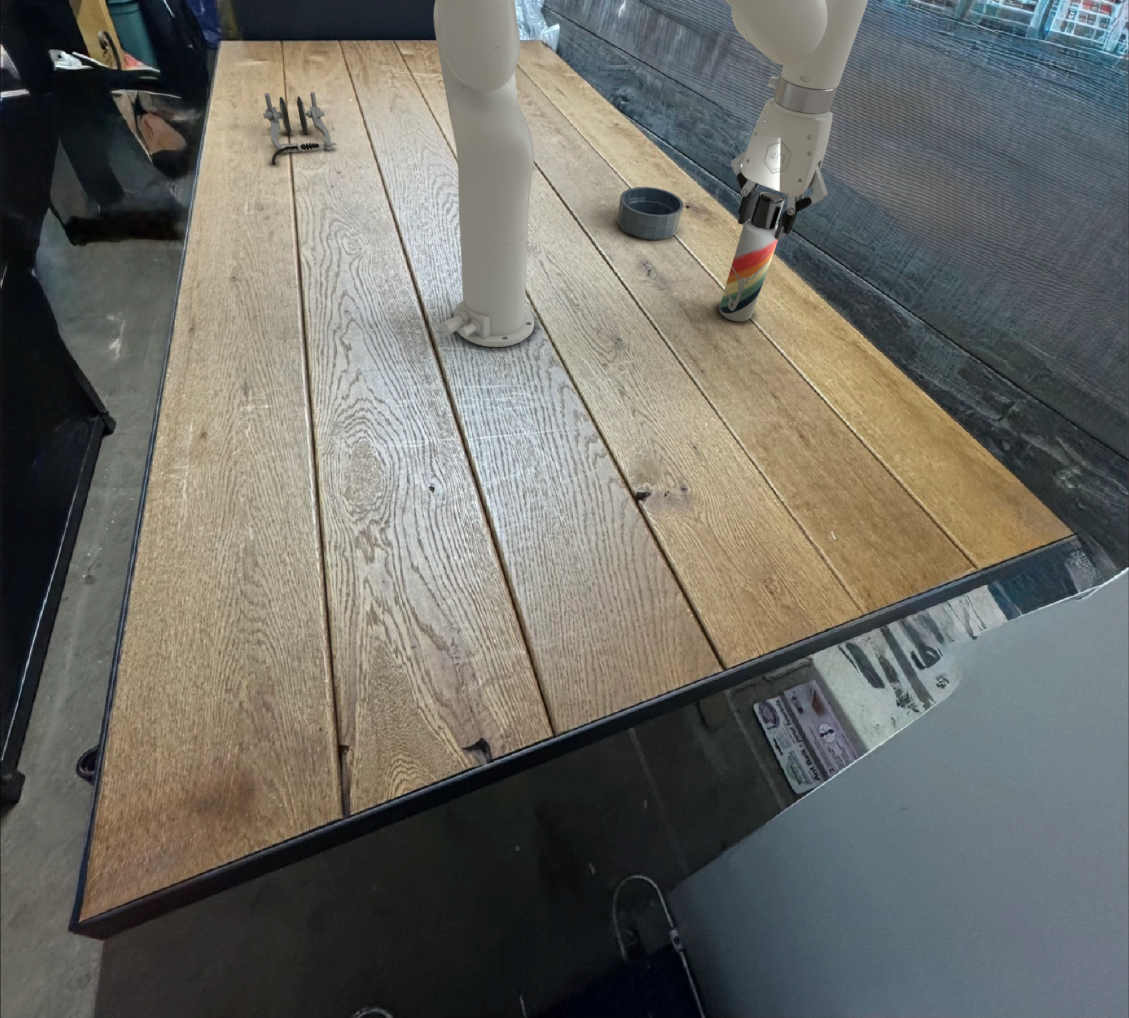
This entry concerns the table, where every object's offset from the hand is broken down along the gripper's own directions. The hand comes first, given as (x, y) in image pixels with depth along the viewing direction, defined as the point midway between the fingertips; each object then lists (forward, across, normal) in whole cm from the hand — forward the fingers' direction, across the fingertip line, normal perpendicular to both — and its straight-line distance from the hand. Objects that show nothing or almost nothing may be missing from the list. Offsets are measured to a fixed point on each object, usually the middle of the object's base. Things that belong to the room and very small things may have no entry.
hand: (762, 227), depth 100 cm
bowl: (+15, -28, +14) cm, 35 cm away
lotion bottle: (+15, 0, 0) cm, 15 cm away
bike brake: (+15, -101, -13) cm, 103 cm away
